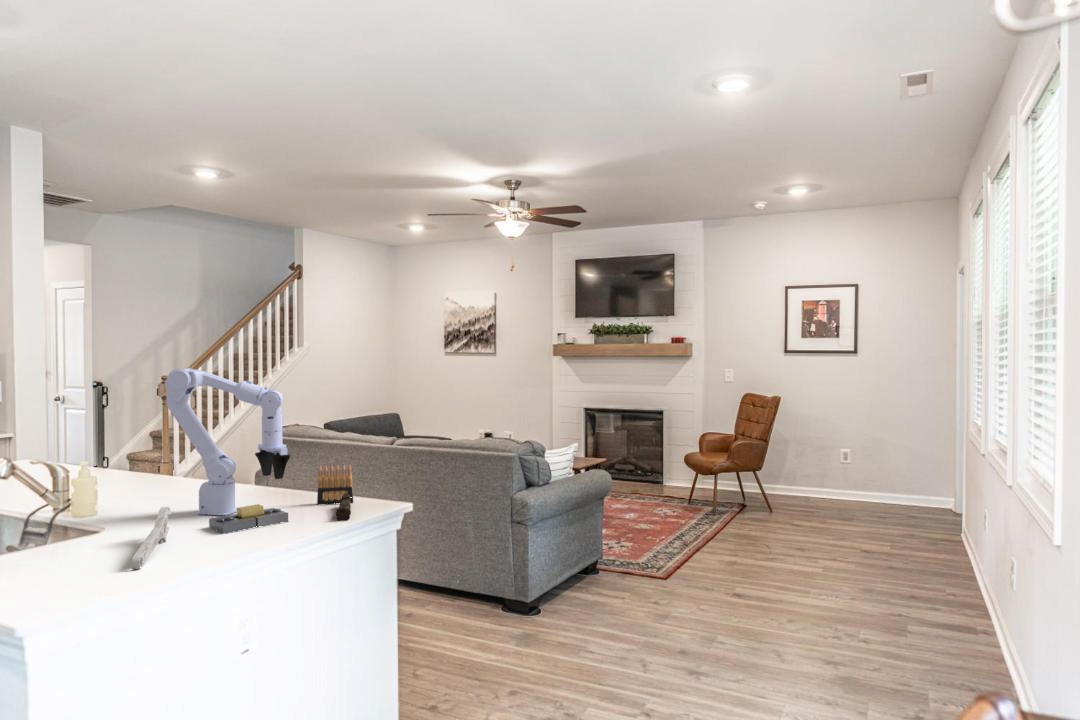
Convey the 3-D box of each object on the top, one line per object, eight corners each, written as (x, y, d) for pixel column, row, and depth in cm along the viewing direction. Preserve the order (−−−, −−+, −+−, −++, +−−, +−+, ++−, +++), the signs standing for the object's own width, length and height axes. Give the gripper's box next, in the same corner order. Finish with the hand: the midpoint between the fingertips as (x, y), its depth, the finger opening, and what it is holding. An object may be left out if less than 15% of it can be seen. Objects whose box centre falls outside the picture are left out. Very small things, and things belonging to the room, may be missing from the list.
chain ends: (223, 533, 196) (223, 522, 196) (209, 527, 202) (209, 517, 202) (288, 521, 209) (288, 511, 209) (273, 516, 215) (273, 506, 215)
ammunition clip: (317, 504, 230) (316, 465, 230) (317, 503, 232) (317, 464, 232) (353, 503, 232) (352, 464, 232) (353, 501, 234) (352, 463, 234)
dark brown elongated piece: (350, 521, 210) (350, 504, 210) (335, 522, 209) (335, 505, 209) (356, 506, 229) (356, 491, 228) (342, 507, 228) (342, 492, 228)
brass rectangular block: (242, 528, 202) (241, 509, 202) (237, 526, 204) (236, 507, 204) (263, 524, 207) (263, 505, 206) (258, 522, 209) (258, 504, 209)
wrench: (131, 583, 165) (164, 534, 194) (141, 583, 166) (172, 533, 194) (129, 548, 164) (162, 503, 193) (139, 548, 165) (170, 503, 193)
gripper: (296, 431, 220) (297, 478, 220) (273, 428, 230) (274, 472, 230) (273, 434, 215) (274, 481, 215) (251, 430, 225) (251, 475, 225)
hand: (272, 477), depth 222 cm, fingers open, 7 cm apart
